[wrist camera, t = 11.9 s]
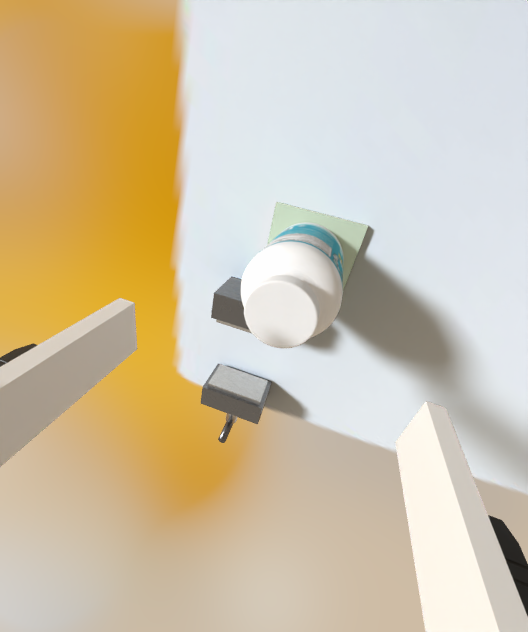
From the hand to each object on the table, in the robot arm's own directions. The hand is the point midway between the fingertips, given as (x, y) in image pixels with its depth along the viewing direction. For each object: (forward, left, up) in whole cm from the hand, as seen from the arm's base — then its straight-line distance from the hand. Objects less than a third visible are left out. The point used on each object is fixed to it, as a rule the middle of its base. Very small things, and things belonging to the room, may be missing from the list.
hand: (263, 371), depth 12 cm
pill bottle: (0, 0, -19) cm, 19 cm away
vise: (+16, -4, -20) cm, 26 cm away
